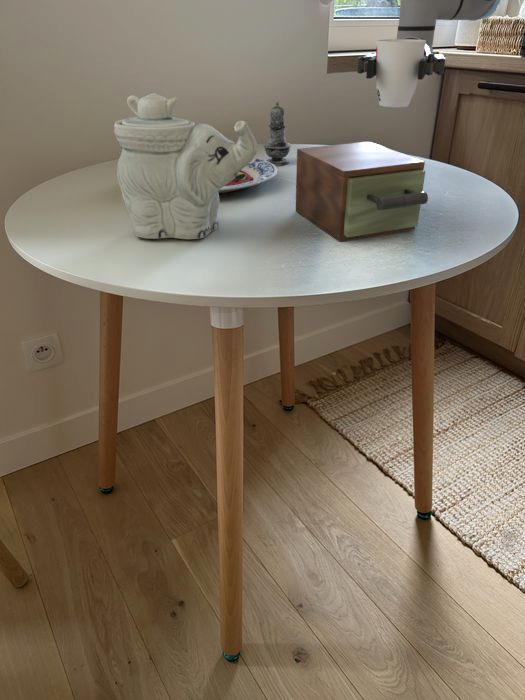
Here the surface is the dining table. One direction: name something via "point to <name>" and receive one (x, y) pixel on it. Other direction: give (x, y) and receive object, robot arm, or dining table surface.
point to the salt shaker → (277, 138)
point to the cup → (397, 70)
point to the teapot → (175, 169)
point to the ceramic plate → (251, 175)
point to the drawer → (383, 202)
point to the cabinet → (341, 180)
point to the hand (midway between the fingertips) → (394, 69)
